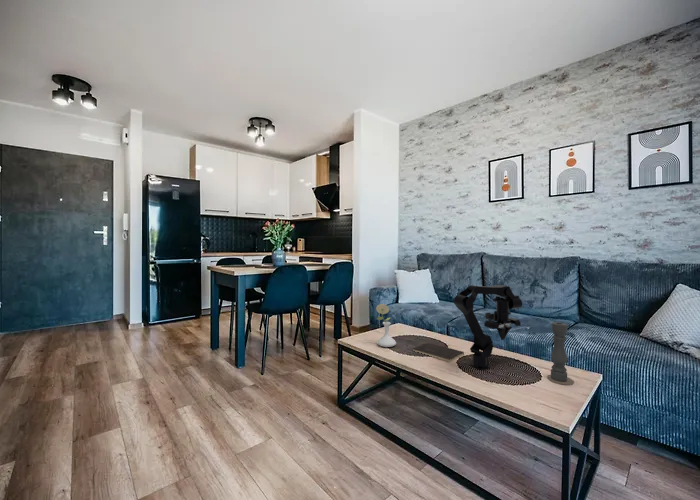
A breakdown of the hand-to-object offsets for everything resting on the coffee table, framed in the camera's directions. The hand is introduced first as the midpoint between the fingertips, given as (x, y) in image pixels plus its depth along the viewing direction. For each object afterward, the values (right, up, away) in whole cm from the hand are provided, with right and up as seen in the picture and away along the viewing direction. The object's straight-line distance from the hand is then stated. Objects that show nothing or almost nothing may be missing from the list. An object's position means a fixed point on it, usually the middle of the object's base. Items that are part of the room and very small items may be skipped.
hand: (502, 339), depth 159 cm
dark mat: (+16, -12, -20) cm, 29 cm away
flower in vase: (-57, -12, +29) cm, 65 cm away
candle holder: (+16, -12, -20) cm, 28 cm away
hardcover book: (-29, -13, +15) cm, 35 cm away
